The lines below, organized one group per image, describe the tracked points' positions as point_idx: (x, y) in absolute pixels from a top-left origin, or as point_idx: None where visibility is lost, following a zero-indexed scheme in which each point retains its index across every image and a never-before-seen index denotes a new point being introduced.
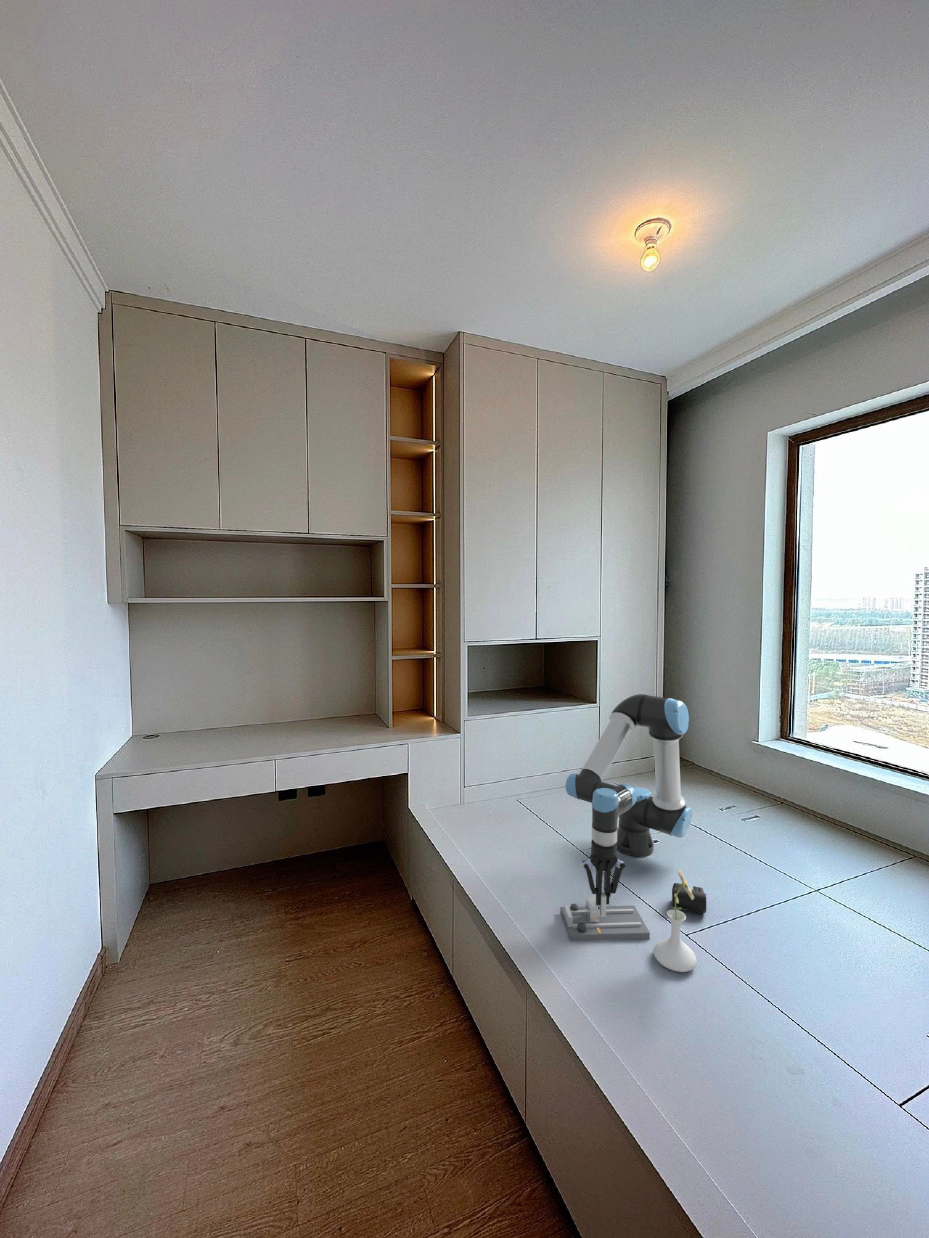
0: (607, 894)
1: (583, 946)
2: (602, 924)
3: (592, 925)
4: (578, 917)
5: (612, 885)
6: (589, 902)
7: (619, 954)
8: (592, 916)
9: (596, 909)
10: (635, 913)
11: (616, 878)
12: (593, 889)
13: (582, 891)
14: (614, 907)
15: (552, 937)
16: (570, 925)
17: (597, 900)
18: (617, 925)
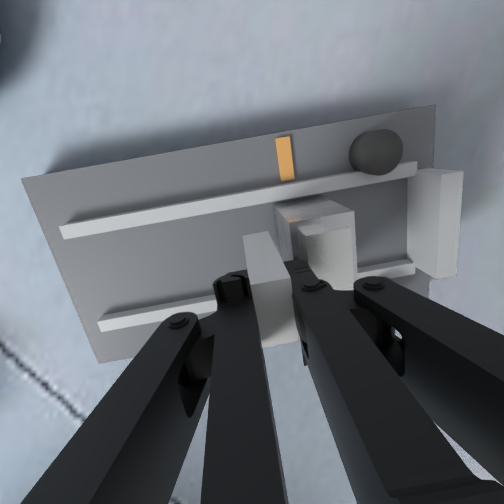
0: (241, 293)
1: (359, 78)
2: (263, 193)
3: (314, 180)
4: (364, 244)
5: (185, 391)
6: (349, 272)
7: (194, 35)
8: (323, 205)
9: (312, 218)
10: (94, 312)
11: (98, 466)
12: (394, 298)
13: (301, 419)
14: None
15: (484, 127)
16: (422, 169)
17: (309, 270)
18: (185, 202)
